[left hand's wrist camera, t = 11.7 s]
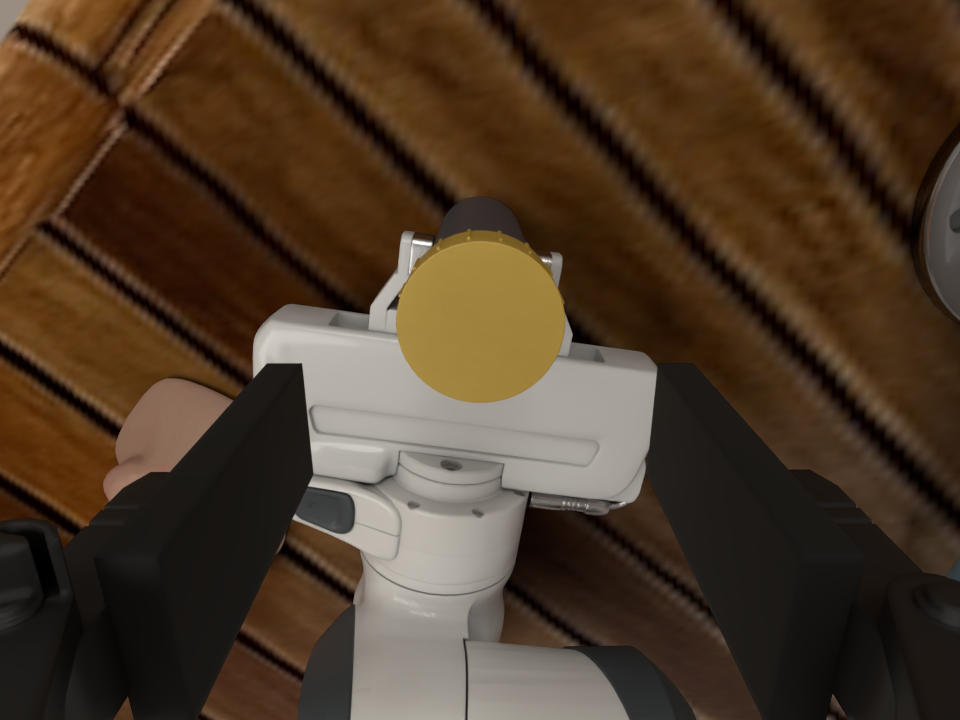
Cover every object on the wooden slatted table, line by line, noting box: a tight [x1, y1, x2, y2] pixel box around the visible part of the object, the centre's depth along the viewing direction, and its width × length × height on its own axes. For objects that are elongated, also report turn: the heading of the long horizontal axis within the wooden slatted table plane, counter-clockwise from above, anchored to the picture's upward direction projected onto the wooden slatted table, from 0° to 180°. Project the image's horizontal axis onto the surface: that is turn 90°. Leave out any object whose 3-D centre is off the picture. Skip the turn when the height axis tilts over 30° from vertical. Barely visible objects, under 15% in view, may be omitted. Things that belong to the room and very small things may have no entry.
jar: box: [433, 197, 526, 246], centre depth 29 cm, size 5×5×16 cm
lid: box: [395, 229, 565, 403], centre depth 22 cm, size 6×6×2 cm
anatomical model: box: [103, 378, 286, 554], centre depth 40 cm, size 13×4×12 cm
